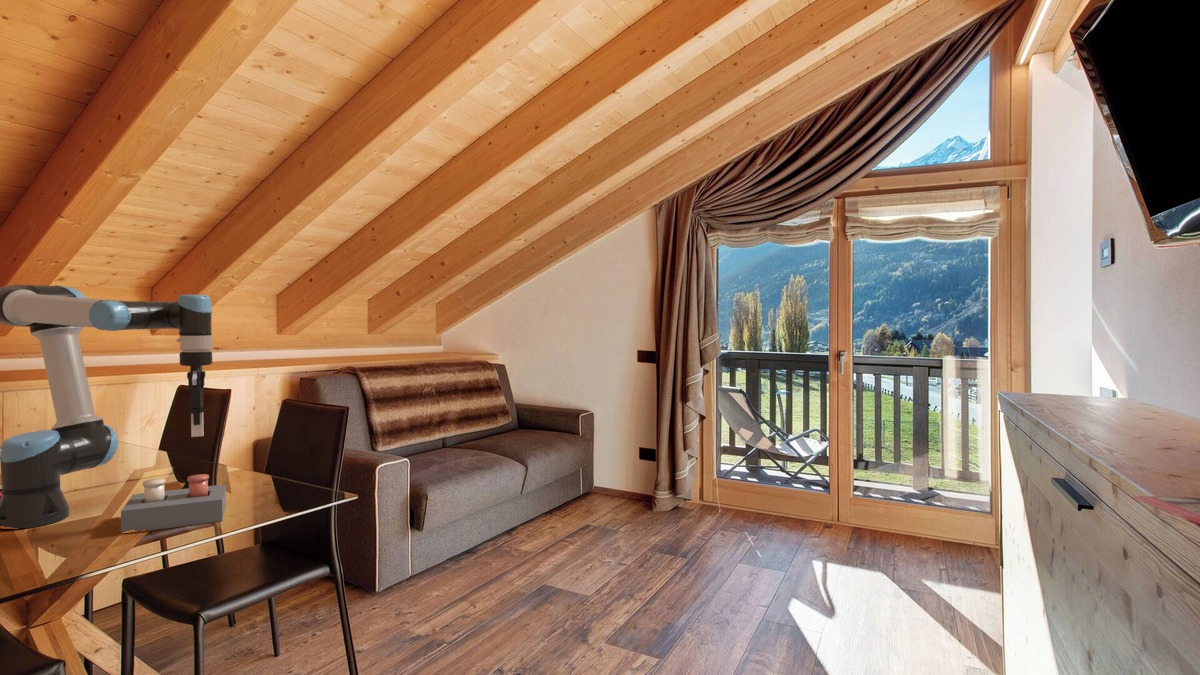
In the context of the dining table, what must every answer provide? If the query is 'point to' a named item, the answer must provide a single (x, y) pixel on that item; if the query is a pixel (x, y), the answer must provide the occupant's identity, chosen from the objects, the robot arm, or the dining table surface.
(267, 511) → the dining table surface
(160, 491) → the ivory plunger
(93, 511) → the dining table surface
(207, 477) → the red plunger
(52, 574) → the dining table surface
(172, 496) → the grey plunger base
